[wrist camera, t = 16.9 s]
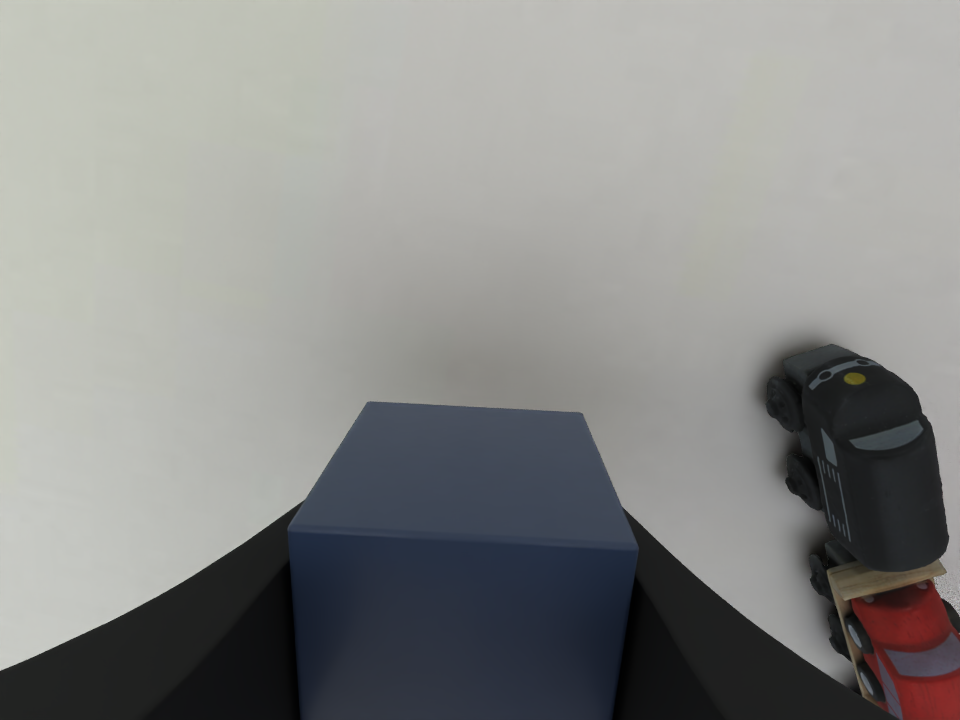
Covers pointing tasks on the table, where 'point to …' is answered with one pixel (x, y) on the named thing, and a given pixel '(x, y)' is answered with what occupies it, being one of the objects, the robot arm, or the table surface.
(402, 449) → the block
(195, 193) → the table surface
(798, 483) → the toy train
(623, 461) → the table surface
